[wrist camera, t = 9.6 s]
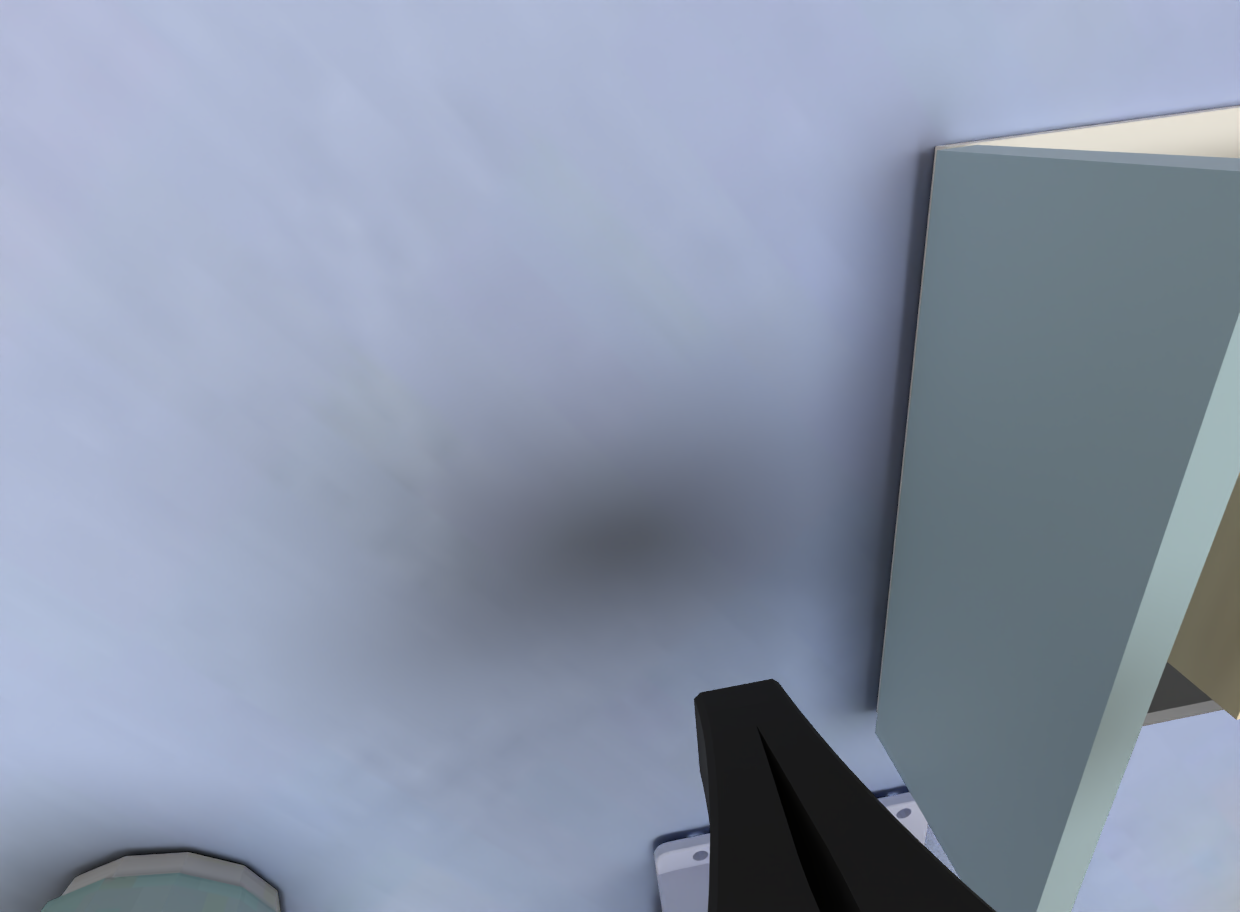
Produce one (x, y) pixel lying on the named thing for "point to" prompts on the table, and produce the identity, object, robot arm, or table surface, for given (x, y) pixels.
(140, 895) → the disposable coffee cup
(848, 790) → the robot arm
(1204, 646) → the birch block
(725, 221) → the table surface
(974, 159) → the teal drawer
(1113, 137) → the console box
